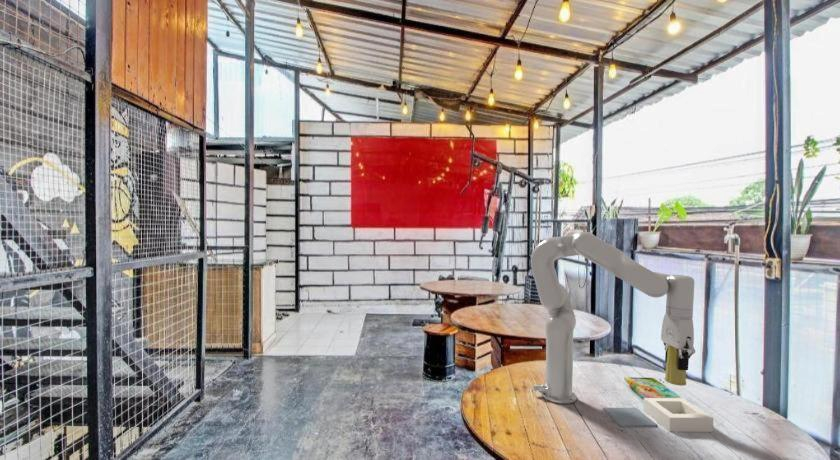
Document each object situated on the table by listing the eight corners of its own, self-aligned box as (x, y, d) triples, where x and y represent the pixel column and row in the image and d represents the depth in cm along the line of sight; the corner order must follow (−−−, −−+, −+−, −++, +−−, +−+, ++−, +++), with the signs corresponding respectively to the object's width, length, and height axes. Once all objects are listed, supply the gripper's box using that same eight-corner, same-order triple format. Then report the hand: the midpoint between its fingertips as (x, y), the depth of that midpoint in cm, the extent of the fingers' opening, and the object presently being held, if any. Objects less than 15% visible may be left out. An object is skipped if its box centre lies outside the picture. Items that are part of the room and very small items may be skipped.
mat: (621, 426, 128) (621, 425, 128) (602, 409, 140) (602, 407, 140) (657, 426, 128) (657, 425, 128) (636, 409, 140) (636, 407, 140)
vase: (683, 380, 134) (685, 338, 134) (688, 387, 129) (691, 343, 128) (662, 377, 136) (664, 336, 136) (667, 384, 131) (669, 341, 130)
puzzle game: (650, 396, 141) (624, 374, 161) (649, 409, 141) (623, 386, 161) (684, 397, 140) (653, 375, 160) (683, 410, 140) (653, 387, 160)
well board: (669, 431, 125) (670, 417, 125) (643, 410, 139) (643, 397, 139) (712, 431, 126) (713, 417, 126) (682, 410, 140) (682, 398, 140)
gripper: (652, 306, 140) (649, 357, 141) (686, 318, 123) (683, 376, 124) (672, 307, 140) (670, 357, 141) (709, 319, 123) (706, 376, 124)
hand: (676, 365), depth 132 cm, fingers closed on vase, 5 cm apart
